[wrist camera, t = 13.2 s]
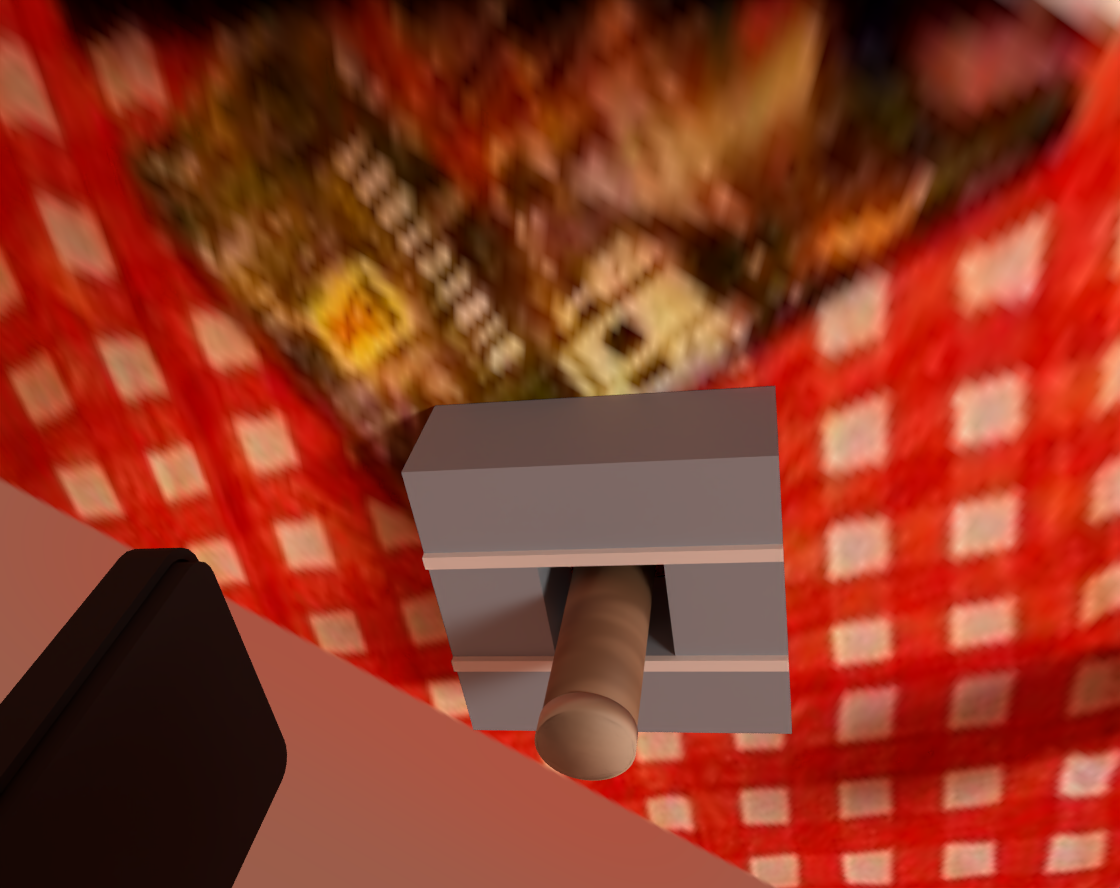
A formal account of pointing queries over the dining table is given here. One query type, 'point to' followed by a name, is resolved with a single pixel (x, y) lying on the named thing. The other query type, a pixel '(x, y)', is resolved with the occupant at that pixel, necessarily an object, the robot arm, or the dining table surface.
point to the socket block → (611, 546)
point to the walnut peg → (597, 673)
